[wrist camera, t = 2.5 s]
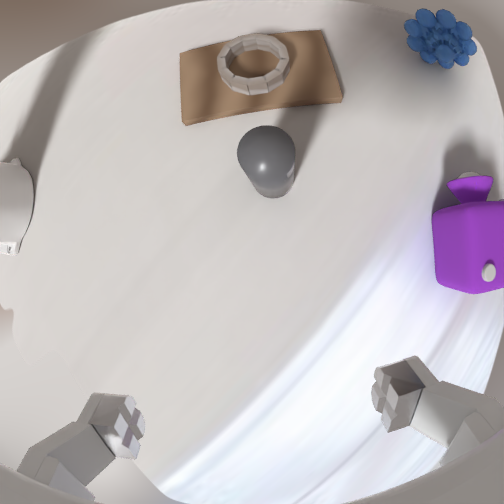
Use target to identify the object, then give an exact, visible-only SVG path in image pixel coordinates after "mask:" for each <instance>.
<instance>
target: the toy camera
mask: <svg viewBox="0 0 504 504" xmlns="http://www.w3.org/2000/svg"><path fill="white" fill-rule="evenodd" d="M492 183H493V178H492V177H490V176H481V175H480V174H478V173H476V172H465V173H463V174H461V175H460V176H459V177H458V179H455V180H452V181H450V182H448V183H447V186H448V188H449V189H450V191H451V192H452V193H453V194H454V195H455V197H456V198H457V199H458V200H459V201H460V203H461V204H459V205H454V206H450V207H446V208H443V209H440V210H438V211H436V212H435V213H434V214H433V216H432V231H433V243H434V257H435V273H436V279H437V281H438V283H439V284H441V285H443V286H445V287H448V288H452V289H455V290H459V291H462V292H466V293H470V294H479V293H484V292H488V291H492V290H496V289H500V288H504V199H501V200H500V201H486V199H487V196H488V194H489V191H490V189H491V186H492Z"/></svg>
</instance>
